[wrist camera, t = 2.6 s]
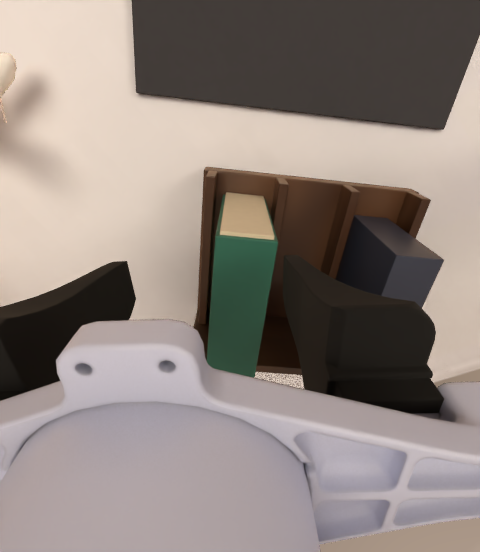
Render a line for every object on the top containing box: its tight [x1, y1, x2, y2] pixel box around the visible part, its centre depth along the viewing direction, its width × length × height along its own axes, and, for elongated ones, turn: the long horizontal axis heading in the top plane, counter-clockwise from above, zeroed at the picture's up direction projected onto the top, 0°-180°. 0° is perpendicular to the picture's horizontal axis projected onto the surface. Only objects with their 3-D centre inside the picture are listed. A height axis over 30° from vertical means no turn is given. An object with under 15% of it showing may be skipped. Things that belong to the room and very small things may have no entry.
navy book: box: [335, 215, 444, 308], centre depth 21 cm, size 3×8×7 cm, turn 174°
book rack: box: [194, 167, 431, 375], centre depth 22 cm, size 15×12×7 cm
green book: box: [207, 192, 278, 378], centre depth 20 cm, size 3×9×8 cm, turn 174°
